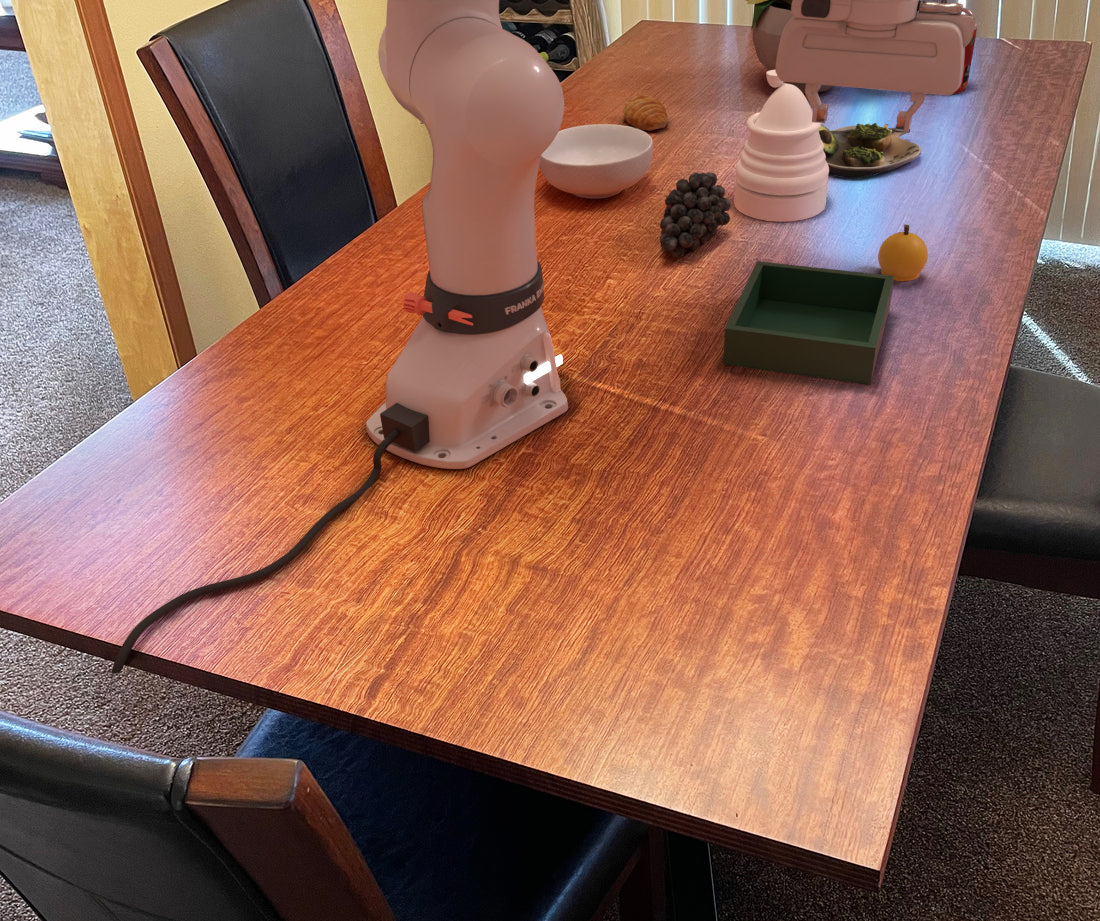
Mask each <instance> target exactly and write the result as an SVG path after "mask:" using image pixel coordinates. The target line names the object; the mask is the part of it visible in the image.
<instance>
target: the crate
mask: <svg viewBox="0 0 1100 921" xmlns="http://www.w3.org/2000/svg"><path fill="white" fill-rule="evenodd" d="M752 269H753V270H752V271H751V273H750V275H749V277H748V279H747V281H746V283H745V286H744V288H743V290H742V291H741V294H740V296H739V298H738V300H737V302H736V304H735V306H734V308H733V311H732V312H731V315H730V317H729V319H728V321H727V323H726V325H725V327H724V341H723V342H724V343H723V362H722V363H723V366H731V367H737V368H738V367H739V368H745V369H752V370H760V371H765V372H766V371H767V372H775V373H781V374H788V375H795V376H801V377H810V378H816V379H824V380H832V381H836V382H837V381H839V382H845V383H852V384H859V385H867V386H871V385H872V381H873V378H874V375H875V374H874V373H875V370H876V365H877V363H878V362H877V361H878V357H879V353H880V350H881V346H882V341H883V337H884V333H885V330H886V326H887V322H888V317H889V313H890V308H891V302H892V295H893V288H894V281H895V280H894V276H889V275H882V274H879V273H872V272H870V273H869V272H862V271H851V270H842V269H834V268H824V267H816V266H806V265H798V264H788V263H779V262H769V261H761V260H760V261H759V260H756V263H755V264H754V267H753V268H752Z"/></svg>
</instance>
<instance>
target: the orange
mask: <svg viewBox="0 0 1100 921" xmlns="http://www.w3.org/2000/svg"><path fill="white" fill-rule="evenodd" d="M928 257H929V254H928V248H927V245H926V243H925V241H924V240H923V239H922V238H921V236H919V235H917V234H915V233H914V232H910V224H904V225H903V231H899V232H896V233H893V234H891V235H889V236H888V237H887V238H886V239H884V241H883V242H882V243H881V245H880V247H879V250H878V252H877V261H878V265H879V267H880V273H881V275H889V276H894V281H896V282H909V281H910V282H911V281H913V280H916V279H918V278H920V275H921V272H922V271H923V270H924V269H925V267H926V266H927V265H926V264H927V262H928Z"/></svg>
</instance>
